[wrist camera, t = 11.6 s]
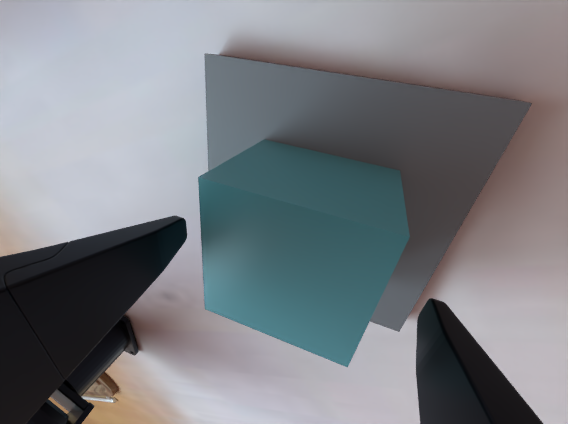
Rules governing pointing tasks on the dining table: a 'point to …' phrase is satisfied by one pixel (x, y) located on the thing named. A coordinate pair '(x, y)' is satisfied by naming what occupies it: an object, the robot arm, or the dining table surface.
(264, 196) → the teal cube
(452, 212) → the thin grey square panel
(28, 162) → the dining table surface
